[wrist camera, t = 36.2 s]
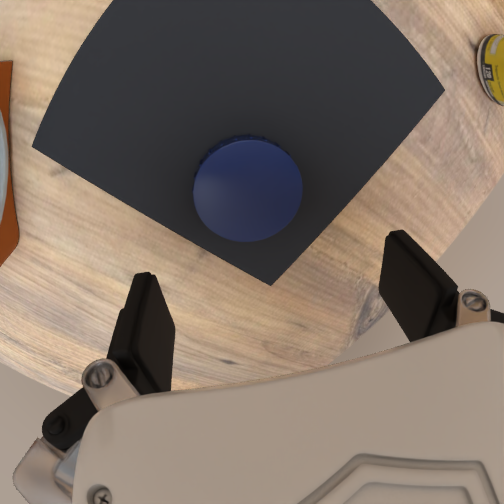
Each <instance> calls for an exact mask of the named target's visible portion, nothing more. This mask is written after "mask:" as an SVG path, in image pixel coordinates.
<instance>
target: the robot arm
mask: <svg viewBox="0 0 504 504" xmlns="http://www.w3.org/2000/svg"><path fill="white" fill-rule="evenodd" d="M457 288H458V286H457V285H456V283H455V282H454V281H453V280H452V279H451V278H450V277H449V276H448V275H447V274H446V272H444V270H443V269H442V268H441V267H440V266H439V265H438V264H437V263H436V262H435V261H434V260H433V259H432V258H431V257H430V256H429V255H428V254H427V253H426V252H425V251H424V250H423V249H422V248H421V247H420V246H419V245H418V244H417V243H416V242H415V241H414V240H413V239H412V238H411V237H410V236H409V235H408V234H407V233H406V232H405V231H404V230H397V231H391V232H390V233H389V235H388V236H386V239H385V247H384V254H383V262H382V268H381V275H380V281H379V293H380V295H381V297H382V298H383V300H384V301H385V303H386V304H387V306H388V307H389V309H390V310H391V312H392V314H393V315H394V317H395V318H396V320H397V322H398V323H399V325H400V326H401V328H402V329H403V331H404V333H405V334H406V336H407V338H408V339H409V341H410V343H407V344H404V345H401V346H398V347H395V348H391V349H388V350H384V351H381V352H378V353H374V354H371V355H367V356H364V357H360V358H356V359H352V360H348V361H345V362H341V363H337V364H333V365H328V366H324V367H320V368H315V369H311V370H306V371H301V372H297V373H292V374H287V375H281V376H276V377H271V378H265V379H259V380H253V381H247V382H240V383H233V384H226V385H219V386H211V387H203V388H195V389H186V390H176V391H171V379H172V365H173V353H174V341H175V325H174V322H173V319H172V317H171V314H170V312H169V309H168V307H167V304H166V302H165V299H164V296H163V294H162V291H161V288H160V286H159V283H158V280H157V278H156V276H155V275H151V273H150V272H144V273H137V274H135V276H134V278H133V281H132V285H131V288H130V291H129V294H128V297H127V300H126V303H125V307H124V308H123V309H121V310H120V313H119V316H118V319H117V322H116V326H115V329H114V332H113V336H112V339H111V343H110V347H109V350H108V354H107V358H106V359H98V360H96V361H94V362H92V363H91V364H89V365H88V366H87V367H86V369H85V370H84V372H83V374H82V384H83V388H81V389H80V390H79V391H78V392H76V393H75V394H74V395H73V396H71V397H70V398H69V399H67V400H66V401H65V402H64V403H62V404H61V405H60V406H59V407H57V408H56V409H55V410H53V411H52V412H51V413H50V414H49V415H48V416H47V417H46V418H45V420H44V422H43V425H42V433H43V437H42V438H41V439H39V438H37V439H36V440H35V442H34V443H33V445H32V446H31V447H30V449H29V450H28V451H27V453H26V454H25V456H24V457H23V458H22V460H21V461H20V463H19V464H18V466H17V467H16V468H15V471H14V473H13V483H14V486H15V487H16V489H17V490H18V491H19V492H20V494H21V495H22V496H23V497H24V498H25V499H26V500H27V502H28V503H29V504H504V313H501V312H498V311H494V310H492V309H490V303H489V300H488V299H487V297H486V296H485V295H484V294H483V293H481V292H479V291H477V290H474V289H465V290H463V291H461V292H460V293H459V292H458V291H457Z"/></svg>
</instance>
